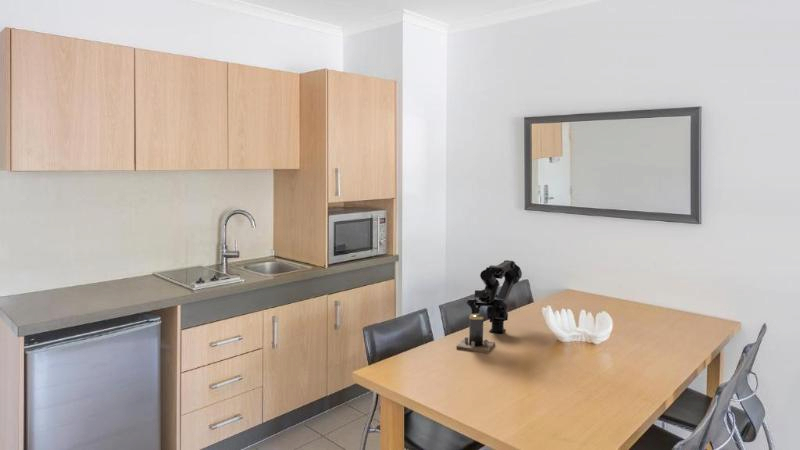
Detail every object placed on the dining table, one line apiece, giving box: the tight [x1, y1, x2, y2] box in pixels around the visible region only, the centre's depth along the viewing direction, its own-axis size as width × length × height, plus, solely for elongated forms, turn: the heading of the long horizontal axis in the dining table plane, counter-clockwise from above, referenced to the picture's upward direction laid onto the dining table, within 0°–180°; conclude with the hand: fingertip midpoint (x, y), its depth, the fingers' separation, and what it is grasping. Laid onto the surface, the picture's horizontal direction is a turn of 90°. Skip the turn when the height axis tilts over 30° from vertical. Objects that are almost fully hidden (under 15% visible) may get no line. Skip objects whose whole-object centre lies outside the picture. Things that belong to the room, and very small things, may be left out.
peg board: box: [456, 336, 496, 354], centre depth 241 cm, size 12×14×4 cm
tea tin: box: [468, 313, 485, 347], centre depth 240 cm, size 6×6×13 cm
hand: (481, 321), depth 245 cm, fingers open, 9 cm apart
